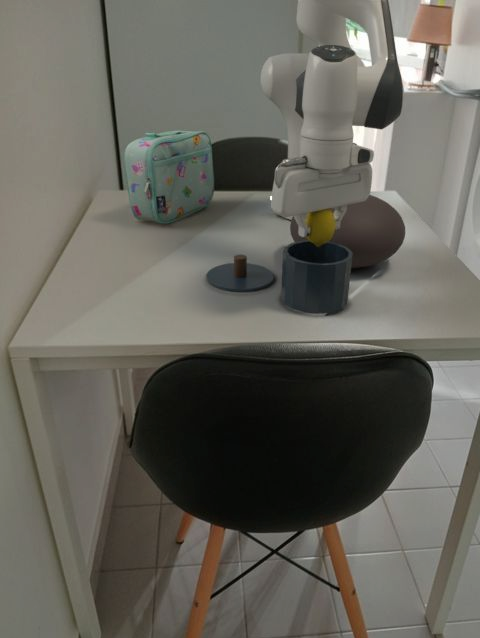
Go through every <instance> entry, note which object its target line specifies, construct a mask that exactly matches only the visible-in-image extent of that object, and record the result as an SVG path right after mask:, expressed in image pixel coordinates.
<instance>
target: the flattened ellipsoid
mask: <svg viewBox="0 0 480 638" xmlns="http://www.w3.org/2000/svg"><path fill="white" fill-rule="evenodd" d="M329 209H330V210H331V211H332V212H333V214H334V211H335V209H334V208H329ZM289 225H290V226H289V230H290V237H291V238H292V240H293V243H294V242H298V241H304V240H308V238H307V237H302V236H299V234H298V229H299V225H298V224H297V222H296V220H295V218H294V216H293V217H292V220H290V224H289ZM405 237H406V225H405V222H404V219H403V217H402V216H401V214H400V213H399V212H398V210H396V208H395V207H393V206H392V205H391V204H390V203H389V202H387V201H385V200H383V199H381V198H379V197H377V196H375V195H371V194H370V195H369V197H368V198H367V200H366V201H364V202H359V203H354V204H349V205H347V211H346V213H345V214H344V216H343V218H342V220H341V223H340V229H337V230H335V231H334V234H333V236H332V238H331V239H330V240H329V242H334V243H338V244H341V245H343V246H345V247H348V248H349V249H350V250H351V251H352V252H353V255H352V265H351V269H360V268H366V267H371V266H375V265H378V264H380V263H383V262H384V261H387V260H388V259H389V258H391V257H392V256H393V255H395V254H396V253H397V252H398V251H399V250H400V248H401V247H402V245H403V243H404V241H405Z"/></svg>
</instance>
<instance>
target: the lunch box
mask: <svg viewBox="0 0 480 638" xmlns="http://www.w3.org/2000/svg"><path fill="white" fill-rule="evenodd" d="M212 145H213V144H212V139H211V137H210V135H209V134H208V133H207V132H206V131H203V130H199V131H189V130H178V129H177V130H171V131H170V130H169V131H163V132H160V133H156V132H145V136H142V137H140V138H137V139H135V140H133V141H131V142H130V143H128V145H127V146H126V148H125V150H124V154H123V159H124V160H123V162H124V170H125V171H124V172H125V178H126V180H125V181H126V186H127V195H128V200H129V205H130V209H131V213H132V215H133V216H134V218H135V219H137V220H138V221H139V220H140V221H145V222H152V223H153V222H154V223H158V224H160V225H167V224H173V223H175V222H177V221H180V220H181V219H183V218H186V217H188V216H190V215H192V214H194V213H196V212H198V211H200V210H202V209H204V208H206V207H207V206H209V205H210V203H211V202H212V200H213V197H214V194H215V176H214V175H215V174H214V161H213V146H212Z"/></svg>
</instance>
